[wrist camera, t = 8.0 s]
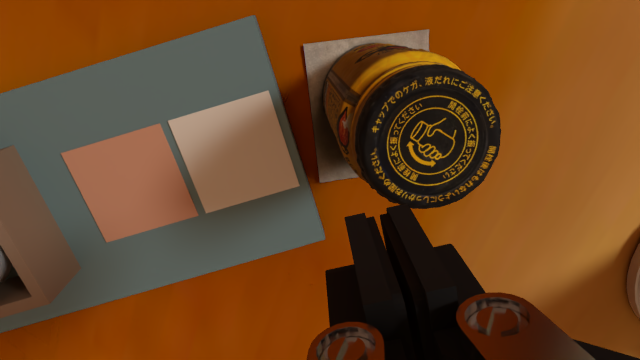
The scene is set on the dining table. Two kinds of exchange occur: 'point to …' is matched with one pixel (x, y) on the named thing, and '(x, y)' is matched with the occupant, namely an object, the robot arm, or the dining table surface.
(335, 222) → the dining table surface
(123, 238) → the board
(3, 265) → the dome
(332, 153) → the condiment
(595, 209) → the dining table surface
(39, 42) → the dining table surface
